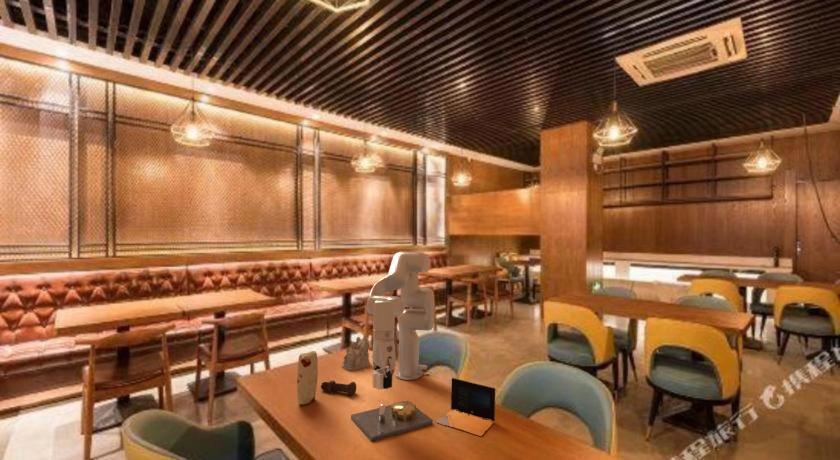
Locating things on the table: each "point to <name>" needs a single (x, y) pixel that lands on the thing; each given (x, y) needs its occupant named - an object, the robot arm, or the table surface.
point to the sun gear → (403, 410)
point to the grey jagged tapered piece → (357, 355)
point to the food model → (307, 377)
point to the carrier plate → (387, 422)
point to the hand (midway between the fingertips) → (382, 383)
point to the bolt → (339, 387)
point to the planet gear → (378, 378)
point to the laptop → (471, 400)
